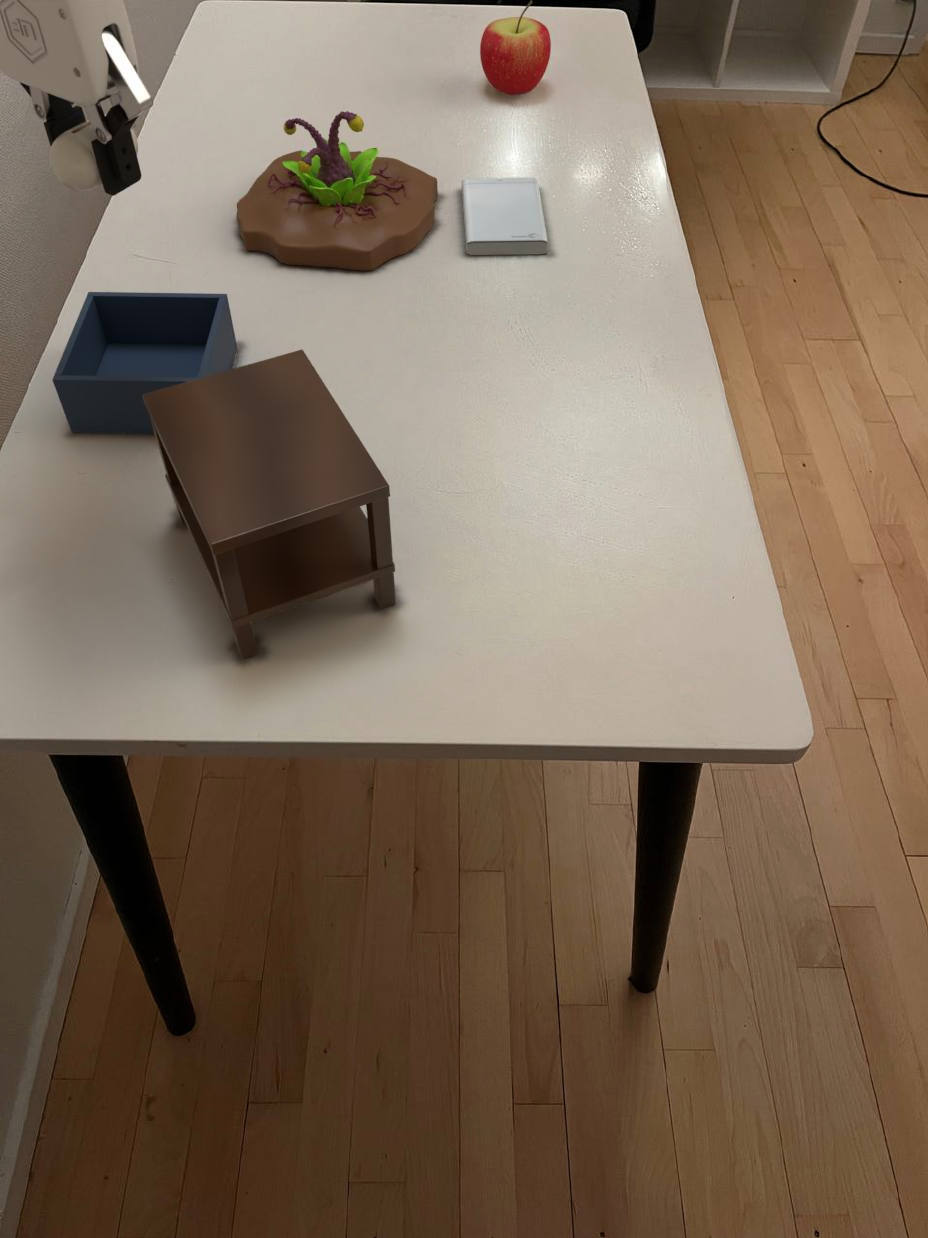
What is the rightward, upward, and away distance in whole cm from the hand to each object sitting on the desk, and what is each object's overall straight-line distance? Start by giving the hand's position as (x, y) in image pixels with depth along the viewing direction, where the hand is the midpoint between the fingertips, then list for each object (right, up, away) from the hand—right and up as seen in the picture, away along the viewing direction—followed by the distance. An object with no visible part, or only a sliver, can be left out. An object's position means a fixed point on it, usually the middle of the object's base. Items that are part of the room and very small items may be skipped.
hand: (100, 174), depth 78 cm
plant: (+14, +9, +33) cm, 37 cm away
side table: (+13, -28, +2) cm, 31 cm away
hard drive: (+31, +9, +33) cm, 46 cm away
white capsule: (0, 0, 0) cm, 0 cm away
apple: (+33, +32, +52) cm, 69 cm away
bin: (0, -12, +15) cm, 20 cm away
